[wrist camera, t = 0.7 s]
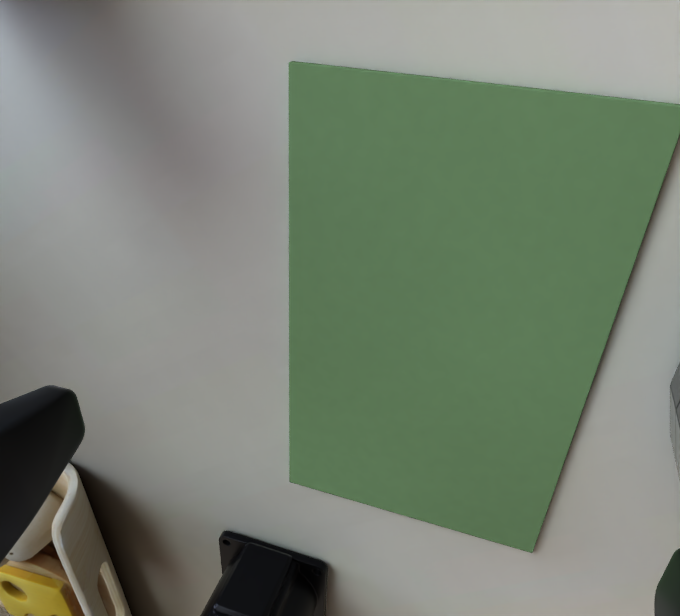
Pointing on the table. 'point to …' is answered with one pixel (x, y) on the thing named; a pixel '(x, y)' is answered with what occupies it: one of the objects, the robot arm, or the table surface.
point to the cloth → (456, 284)
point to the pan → (675, 417)
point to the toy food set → (62, 561)
